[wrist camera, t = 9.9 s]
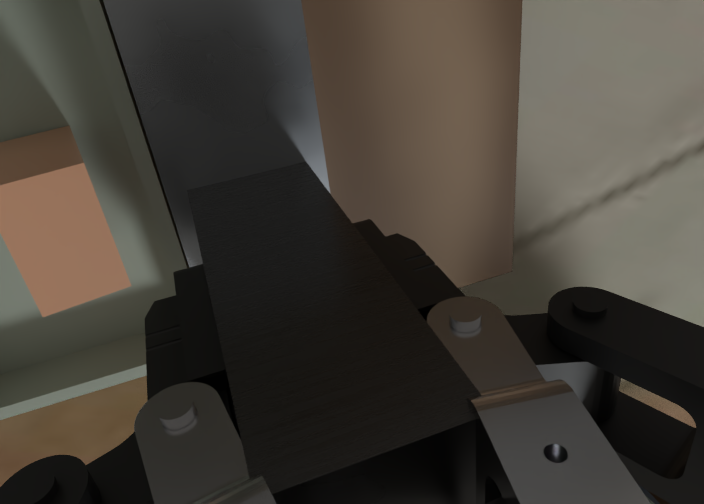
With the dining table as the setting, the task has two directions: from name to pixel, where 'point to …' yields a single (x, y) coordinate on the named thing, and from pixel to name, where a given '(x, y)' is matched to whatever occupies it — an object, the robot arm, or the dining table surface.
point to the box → (112, 192)
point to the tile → (56, 222)
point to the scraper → (291, 264)
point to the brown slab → (423, 122)
